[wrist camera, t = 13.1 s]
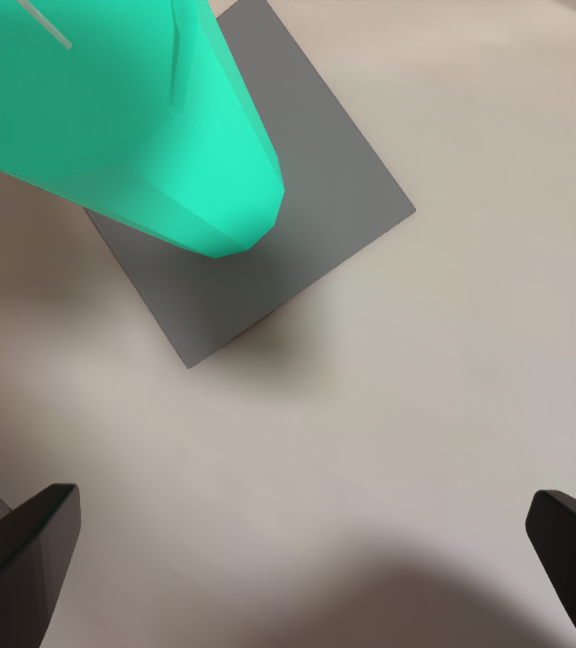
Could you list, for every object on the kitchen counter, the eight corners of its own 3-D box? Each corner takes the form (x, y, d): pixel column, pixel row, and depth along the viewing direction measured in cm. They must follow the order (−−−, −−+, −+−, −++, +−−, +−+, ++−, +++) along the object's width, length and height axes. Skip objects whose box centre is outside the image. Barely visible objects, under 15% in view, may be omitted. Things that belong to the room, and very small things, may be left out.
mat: (414, 212, 18) (416, 209, 17) (191, 367, 19) (187, 368, 19) (258, -7, 19) (256, -14, 18) (56, 159, 20) (50, 155, 20)
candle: (190, 282, 19) (-78, 219, 7) (132, 166, 19) (-219, -79, 7) (308, 215, 18) (229, 19, 6) (245, 96, 18) (57, -305, 7)
